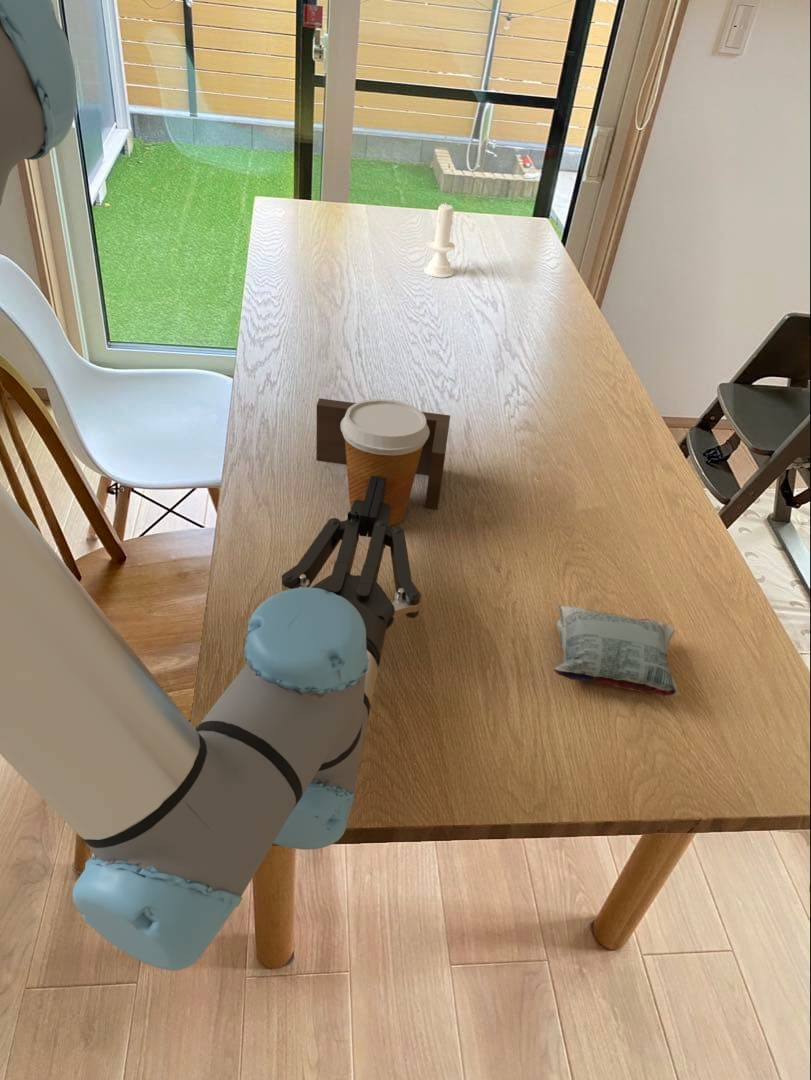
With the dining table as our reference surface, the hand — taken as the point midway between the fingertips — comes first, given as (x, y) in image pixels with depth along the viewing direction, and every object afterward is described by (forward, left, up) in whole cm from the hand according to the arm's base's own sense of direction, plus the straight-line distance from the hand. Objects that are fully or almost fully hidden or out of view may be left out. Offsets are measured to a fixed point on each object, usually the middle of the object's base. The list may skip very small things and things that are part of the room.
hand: (377, 487), depth 83 cm
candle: (+37, +61, -7) cm, 72 cm away
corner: (+4, +9, -7) cm, 12 cm away
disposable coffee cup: (+2, +3, -6) cm, 7 cm away
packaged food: (+15, -25, -7) cm, 29 cm away
